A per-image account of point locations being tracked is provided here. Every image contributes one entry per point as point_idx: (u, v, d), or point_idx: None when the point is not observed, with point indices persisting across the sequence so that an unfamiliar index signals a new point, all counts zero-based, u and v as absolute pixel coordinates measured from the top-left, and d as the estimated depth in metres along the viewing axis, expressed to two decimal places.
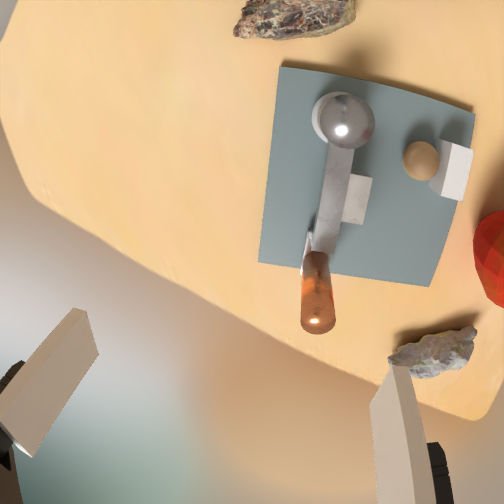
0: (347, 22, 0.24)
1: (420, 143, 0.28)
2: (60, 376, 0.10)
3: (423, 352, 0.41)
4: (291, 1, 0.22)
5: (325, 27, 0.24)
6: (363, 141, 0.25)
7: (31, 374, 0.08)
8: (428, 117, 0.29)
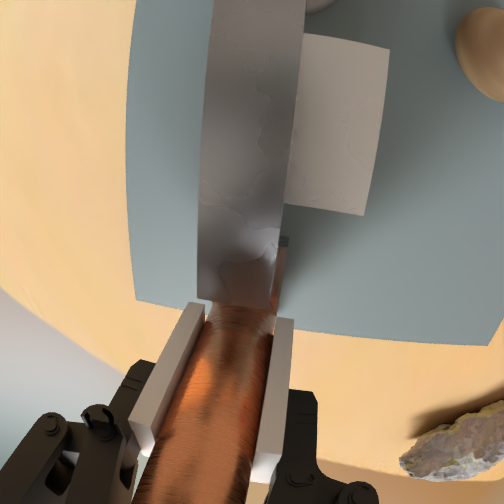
0: None
1: (495, 8, 0.06)
2: None
3: (459, 447, 0.19)
4: None
5: None
6: None
7: (170, 371, 0.10)
8: None
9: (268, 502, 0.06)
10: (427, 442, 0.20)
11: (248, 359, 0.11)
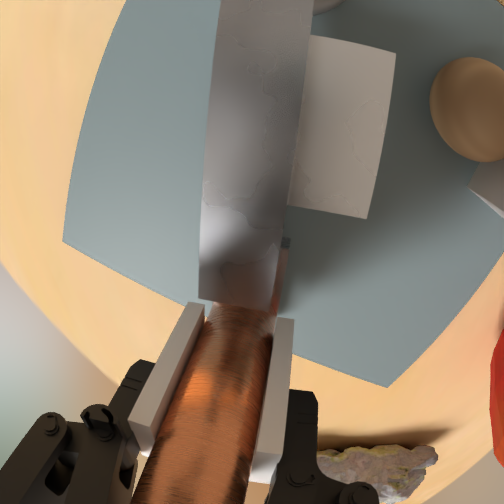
0: None
1: None
2: None
3: (341, 476, 0.22)
4: None
5: None
6: None
7: (170, 371, 0.10)
8: (501, 41, 0.09)
9: (268, 502, 0.06)
10: None
11: (248, 360, 0.11)
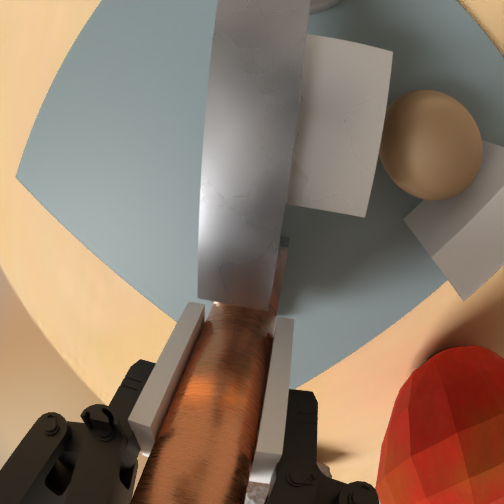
0: None
1: (456, 100, 0.09)
2: None
3: None
4: None
5: None
6: None
7: (170, 371, 0.10)
8: (486, 88, 0.10)
9: (268, 502, 0.06)
10: None
11: (248, 359, 0.11)
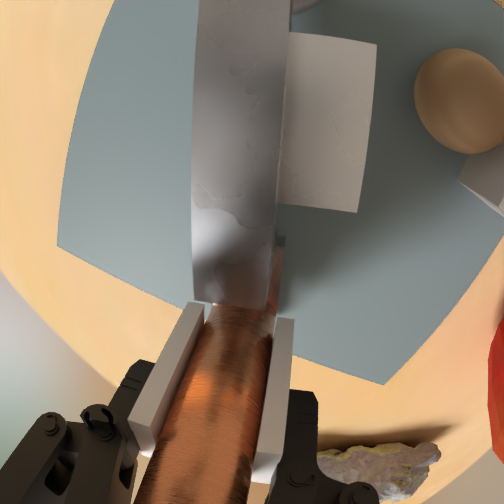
0: None
1: (473, 52, 0.07)
2: None
3: (343, 475, 0.22)
4: None
5: None
6: None
7: (170, 371, 0.10)
8: (488, 32, 0.09)
9: (268, 502, 0.06)
10: None
11: (247, 359, 0.11)
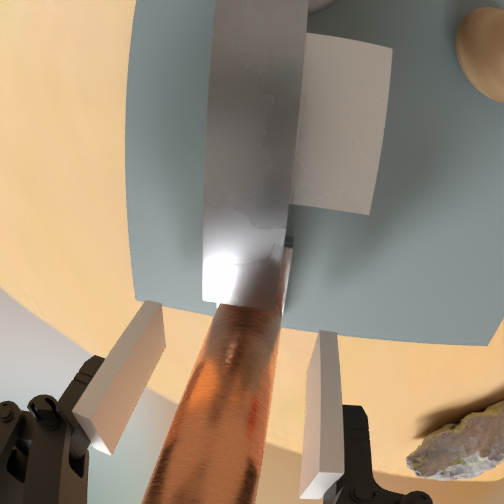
0: None
1: (495, 8, 0.06)
2: (139, 368, 0.11)
3: (464, 446, 0.19)
4: None
5: None
6: None
7: (117, 367, 0.10)
8: None
9: None
10: (434, 441, 0.20)
11: (255, 360, 0.11)
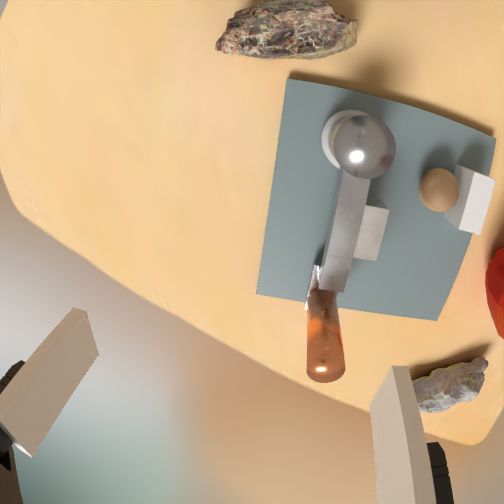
0: (345, 47, 0.23)
1: (440, 171, 0.25)
2: (60, 376, 0.10)
3: (433, 387, 0.37)
4: (283, 17, 0.20)
5: (318, 51, 0.22)
6: (382, 170, 0.22)
7: (31, 374, 0.08)
8: (448, 140, 0.26)
9: None
10: (413, 384, 0.39)
11: (334, 312, 0.29)
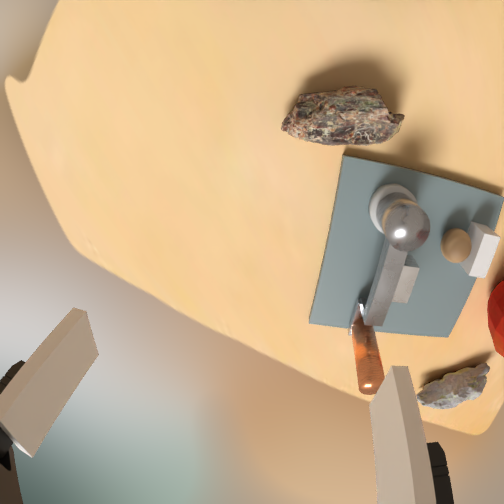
0: None
1: (458, 233, 0.32)
2: (60, 376, 0.10)
3: (445, 389, 0.45)
4: (347, 116, 0.27)
5: (371, 143, 0.29)
6: (418, 245, 0.30)
7: (31, 374, 0.08)
8: (466, 203, 0.33)
9: None
10: (429, 386, 0.46)
11: (374, 340, 0.37)
